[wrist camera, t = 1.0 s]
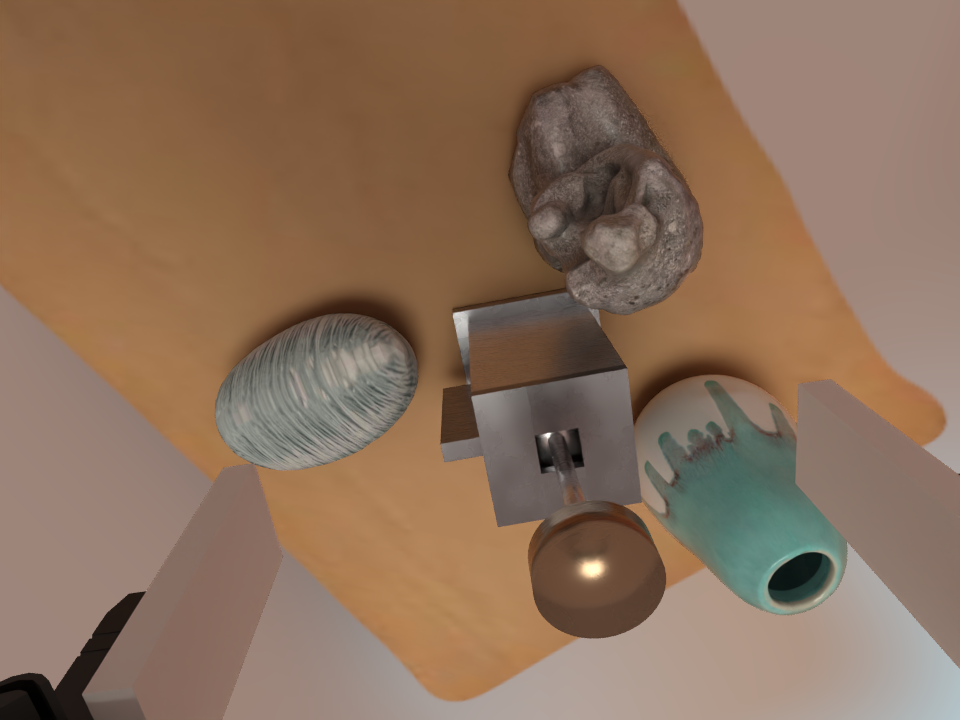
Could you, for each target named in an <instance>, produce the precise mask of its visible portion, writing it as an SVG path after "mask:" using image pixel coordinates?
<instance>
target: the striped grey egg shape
mask: <svg viewBox="0 0 960 720" xmlns="http://www.w3.org/2000/svg"><path fill="white" fill-rule="evenodd" d="M417 383H418V364H417V360H416V356H415V354H414V351H413V349H412V347H411V346H410V344H409V343H408V341H407V340H406V339H405V338H404V337H403V336H402V335H401V334H400V333H399V332H398V331H397V330H395V329H394V328H392V327H391V326H390V325H389V324H387V323H385V322H383V321H380V320H378V319H375V318H372V317H369V316H366V315H360V314H353V313H335V314H328V315H324V316H320V317H316V318H313V319H309V320H306V321H304V322H301V323H298V324H296V325H294V326H292V327H290V328H288V329H286V330H284V331H283V332H281V333H279V334H277V335H275V336H274V337H272V338H271V339H269V340H267V341H266V342H264V343H263V344H261V345H260V346H258V347H257V348H255V349H254V350H253V351H252V352H251V353H249V354H248V355H247V356H246V357H245V358H243V359H242V360H241V361H240V362H239V363H238V364H237V365H236V366H235V367H234V368H233V369H232V370H231V372H230V373H229V375H228V376H227V378H226V379H225V380H224V382H223V383H222V385H221V387H220V389H219V392H218V395H217V399H216V404H215V418H216V424H217V427H218V431H219V433H220V435H221V437H222V439H223V440H224V442H225V443H226V444H227V445H228V446H229V447H230V448H231V449H232V451H233V452H234V453H235V454H237V455H238V456H240V457H241V458H243V459H245V460H247V461H249V462H250V463H255V465H258V466H261V467H265V468H269V469H274V470H301V469H306V468H311V467H315V466H320V465H325V464H328V463H331V462H334V461H337V460H339V459H342V458H344V457H347V456H349V455H351V454H354V453H356V452H358V451H360V450H362V449H363V448H364V447H366V446H367V445H369V444H370V443H371V442H373V441H374V440H376V439H378V438H379V437H380V436H382V435H383V434H384V433H385V432H386V431H388V430H389V429H390V428H391V427H392V426H393V425H394V424H395V423H396V421H397V420H398V419H399V418H400V417H401V416H402V415H403V413H404V412H405V411H406V409H407V407H408V405H409V404H410V402H411V400H412V398H413V396H414V393H415V390H416V387H417Z"/></svg>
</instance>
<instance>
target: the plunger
mask: <svg viewBox="0 0 960 720" xmlns="http://www.w3.org/2000/svg"><path fill="white" fill-rule="evenodd" d="M535 441H536V447H537V453H538V459H539V465H540V468H546V467H552V466H554V467H555V471H556V475H557V478H558V482H559V486H560V490H561V493H562V497H563V501H564V505H565V507H563V508H561V509H559V510H557V511H556V512H554V513H552V514H551V515H550V516H549V517H547V518H546V519H545V520H544V521H543V522H542V523H541V524H540V526H539V527H538V528H537V530H536V531H535V533H534V535H533V537H532V539H531V542H530V545H529V550H528V563H529V570H530V576H531V582H532V589H533V595H534V600H535V603H536V606H537V608H538V610H539V612H540V613H541V615H542V616H543V617H544V618H545V619H546V620H547V622H549V623H550V624H551V625H552V626H554V627H555V628H557V629H558V630H560V631H562V632H564V633H567V634H570V635H573V636H577V637H582V638H606V637H611V636H615V635H618V634H621V633H624V632H626V631H629V630H631V629H633V628H634V627H636V626H638V625H639V624H641V623H642V622H643V621H644V620H646V619H647V618H648V617H649V616H650V615H651V614H652V613H653V612H654V610H655V609H656V608H657V606H658V604H659V603H660V601H661V599H662V597H663V594H664V591H665V585H666V573H665V567H664V565H663V562H662V559H661V557H660V555H659V553H658V551H657V548H656V546H655V544H654V542H653V539H652V537H651V535H650V533H649V531H648V529H647V527H646V525H645V523H644V522H643V521H642V520H641V518H640V517H638V516H637V515H636V514H635V513H634V512H633V511H631V510H630V509H628V508H626V507H624V506H622V505H619V504H617V503H613V502H609V501H602V500H588V501H585V497H584V494H583V491H582V488H581V485H580V482H579V479H578V476H577V473H576V470H575V467H574V463H575V462H580V461H582V454H581V447H580V440H579V433H578V428H575V429H569V430H563V431H558V432H552V433H546V434H541V435H535Z"/></svg>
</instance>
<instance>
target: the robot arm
mask: <svg viewBox="0 0 960 720" xmlns="http://www.w3.org/2000/svg"><path fill="white" fill-rule="evenodd" d="M795 483H796V485H797V486H798V487H799V488H800V489H801V490H802V491H803V492H804V494H805V495H806V496H807V497H808V498H809V499H810V500H811V501H812V503H813V504H814V505H815V506H816V507H817V508H818V509H819V510H820V512H821V513H822V514H823V515H824V516H825V517H826V518H827V520H828V521H829V522H830V523H831V524H832V525H833V526H834V527H835V529H836V530H837V531H838V532H839V533H840V534H841V535H842V536H843V538H844V539H845V540H846V541H847V542H848V543H849V544H850V545H851V547H852V548H853V549H855V551H856V552H857V553H858V554H859V555H860V557H861V558H862V559H863V560H864V561H865V562H866V563H867V565H868V566H869V567H870V568H871V569H872V570H873V571H874V573H875V574H876V575H877V576H878V577H879V578H880V579H881V580H882V581H883V582H884V584H885V585H886V586H887V587H888V588H889V589H890V590H891V592H892V593H893V594H894V595H895V596H896V597H897V598H898V600H899V601H900V602H901V603H902V604H903V605H904V606H905V607H906V608H907V610H908V611H909V612H910V613H911V614H912V615H913V616H914V618H916V620H917V621H918V622H919V623H920V624H921V625H922V627H923V628H924V629H925V630H926V631H927V632H928V633H929V634H930V636H931V637H932V638H933V639H934V640H935V641H936V642H937V644H938V645H939V646H940V647H941V648H942V649H943V650H944V651H945V652H946V654H947V655H948V656H949V657H950V658H951V659H952V660H953V661H954V663H955V664H956V665H957V666H958V667H959V668H960V474H957V473H956V472H954V471H953V470H952V469H950V468H949V467H948V466H946V465H945V464H944V463H942V462H941V461H940V460H938V459H937V458H936V457H934V456H933V455H932V454H930V453H929V452H928V451H926V450H925V449H924V448H922V447H921V446H920V445H918V444H917V443H916V442H914V441H913V440H912V439H910V438H909V437H908V436H906V435H905V434H903V433H902V432H901V431H899V430H898V429H897V428H895V427H894V426H893V425H891V424H890V423H889V422H887V421H886V420H885V419H883V418H882V417H881V416H879V415H878V414H877V413H875V412H874V411H873V410H871V409H870V408H869V407H867V406H866V405H865V404H863V403H862V402H861V401H859V400H858V399H857V398H855V397H854V396H853V395H851V394H850V393H848V392H847V391H846V390H844V389H843V388H842V387H840V386H839V385H838V384H836V383H835V382H834V381H832V380H831V379H829V380H822V381H815V382H809V383H802V384H798V416H797V447H796V479H795ZM282 558H283V554H282V551H281V548H280V545H279V541H278V538H277V535H276V531H275V528H274V525H273V522H272V518H271V515H270V512H269V508H268V505H267V502H266V499H265V495H264V492H263V489H262V486H261V482H260V479H259V476H258V472H257V469H256V466H255V463H252V464H246V465H239V466H232V467H225V468H223V469H222V471H221V472H220V474H219V476H218V477H217V479H216V480H215V482H214V484H213V485H212V487H211V489H210V490H209V492H208V493H207V495H206V497H205V498H204V500H203V501H202V503H201V504H200V506H199V508H198V509H197V511H196V512H195V514H194V516H193V517H192V519H191V521H190V522H189V524H188V526H187V527H186V528H185V530H184V532H183V533H182V535H181V536H180V538H179V540H178V541H177V543H176V544H175V546H174V548H173V549H172V551H171V553H170V554H169V556H168V558H167V559H166V561H165V562H164V564H163V565H162V567H161V569H160V570H159V572H158V574H157V575H156V577H155V578H154V580H153V581H152V583H151V585H150V586H149V588H148V589H147V591H145V592H138V593H131V594H128V595H127V596H126V597H125V598H124V599H122V600H121V601H120V602H119V603H118V604H117V605H116V606H115V607H113V608H112V609H111V610H110V611H109V612H108V613H107V614H106V615H105V617H104V618H103V620H102V621H101V622H100V624H99V625H98V627H97V628H96V630H95V631H94V633H93V634H92V639H89V640H88V642H87V643H86V645H85V646H84V648H83V649H82V651H81V652H80V653H81V655H80V656H78V657H77V658H76V659H75V661H74V662H73V664H72V665H71V667H70V669H69V670H68V671H67V673H66V674H65V676H64V677H63V679H62V680H61V682H60V683H59V685H58V686H57V688H56V689H55V691H54V690H53V688H52V686H51V684H50V682H49V680H48V679H47V678H46V677H44V676H43V675H42V674H35V673H26V674H21V675H17V676H12V677H10V678H8V679H5V680H3V681H1V682H0V720H222V719H223V716H224V713H225V711H226V708H227V705H228V703H229V700H230V697H231V695H232V692H233V690H234V687H235V684H236V681H237V679H238V676H239V673H240V671H241V668H242V665H243V663H244V660H245V657H246V655H247V652H248V649H249V647H250V644H251V641H252V638H253V636H254V633H255V630H256V628H257V625H258V623H259V620H260V617H261V614H262V612H263V609H264V606H265V604H266V601H267V598H268V596H269V593H270V590H271V588H272V585H273V582H274V580H275V577H276V574H277V572H278V569H279V566H280V564H281V561H282Z"/></svg>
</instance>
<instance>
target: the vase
mask: <svg viewBox="0 0 960 720" xmlns="http://www.w3.org/2000/svg"><path fill="white" fill-rule="evenodd" d="M634 434H635V443H636V452H637V461H638V470H639V479H640V488H641V497H642V501H643V503H644V504H645V506H646V507H647V508H648V510H649V511H650V513H651V514H652V515H653V516H654V518H655V519H656V520H657V521H658V522H659V523H660V524H661V526H662V527H663V528H664V529H665V530H666V531H667V532H668V533H669V534H670V535H671V536H672V537H673V538H674V539H675V540H676V541H677V542H679V543H680V544H681V545H682V546H683V547H685V548H686V549H687V550H688V551H690V552H691V553H692V554H693V555H694V556H696V557H697V558H698V559H699V560H700V561H701V562H702V563H703V564H704V565H705V566H706V567H707V568H708V569H709V570H710V571H711V572H712V573H713V574H714V575H715V576H716V577H717V578H718V579H719V580H720V581H721V582H722V583H723V584H724V585H725V586H726V587H727V588H729V589H730V590H731V591H732V592H733V593H734V594H735V595H737V596H738V597H739V598H741V599H742V600H743V601H745V602H746V603H748V604H750V605H752V606H754V607H756V608H758V609H760V610H763V611H766V612H769V613H772V614H776V615H794V614H798V613H802V612H806V611H808V610H811V609H813V608H815V607H817V606H818V605H820V604H821V603H822V602H824V601H825V600H826V599H827V598H828V597H829V596H831V595H832V594H833V593H834V591H835V590H836V589H837V587H838V586H839V584H840V582H841V580H842V577H843V575H844V571H845V568H846V563H847V541H846V540H845V539H844V538H843V536H842V535H841V534H840V533H839V532H838V531H837V530H836V529H835V527H834V526H833V525H832V524H831V523H830V522H829V521H828V520H827V518H826V517H825V516H824V515H823V514H822V513H821V512H820V510H819V509H818V508H817V507H816V506H815V505H814V504H813V503H812V501H811V500H810V499H809V498H808V497H807V496H806V495H805V494H804V492H803V491H802V490H801V489H800V488H799V487H798V486H797V485H796V483H795V479H796V447H797V423H796V422H795V420H794V419H793V417H792V416H791V415H790V414H789V412H788V411H787V410H786V408H785V407H784V406H783V405H782V404H781V403H780V402H779V401H778V400H777V399H776V398H774V397H773V396H772V395H771V394H770V393H768V392H767V391H765V390H764V389H762V388H760V387H759V386H757V385H755V384H753V383H751V382H748V381H745V380H743V379H740V378H737V377H733V376H727V375H717V374H706V375H698V376H693V377H690V378H686V379H683V380H681V381H678V382H676V383H674V384H672V385H670V386H668V387H666V388H665V389H663V390H662V391H661V392H659V393H658V394H657V395H656V396H654V397H653V398H652V399H651V400H650V401H649V403H648V404H647V405H646V406H645V407H644V409H643V410H642V411H641V413H640V415H639V416H638V418H637V420H636V422H635V424H634Z"/></svg>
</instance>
